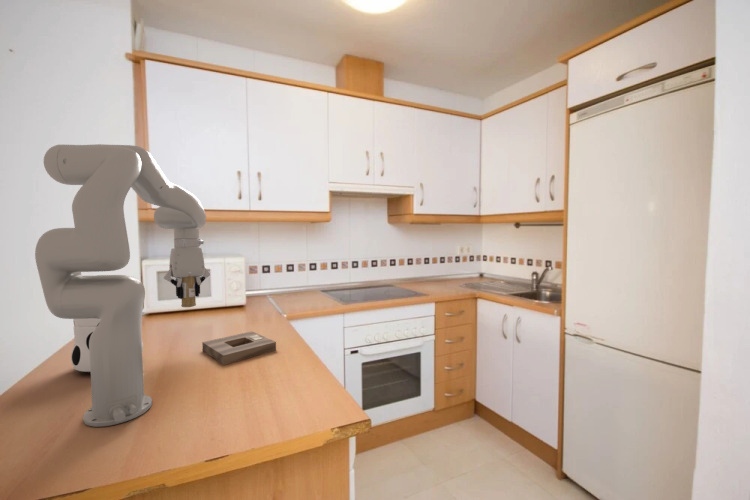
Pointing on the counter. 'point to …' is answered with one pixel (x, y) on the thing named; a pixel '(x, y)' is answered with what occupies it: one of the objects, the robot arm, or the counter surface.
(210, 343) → the socket board
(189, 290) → the sprinkles bottle
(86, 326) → the milk container
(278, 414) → the counter surface
